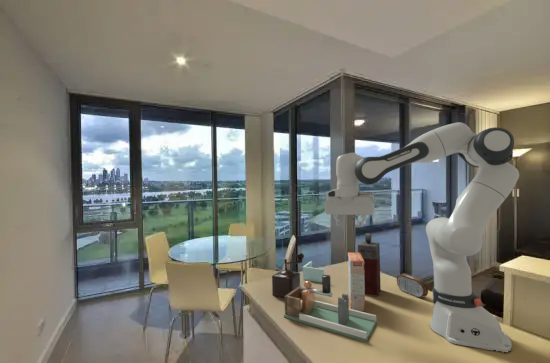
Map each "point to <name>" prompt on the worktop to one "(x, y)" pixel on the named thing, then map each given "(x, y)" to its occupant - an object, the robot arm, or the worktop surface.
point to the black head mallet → (309, 293)
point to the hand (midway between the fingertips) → (349, 225)
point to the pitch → (339, 319)
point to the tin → (412, 285)
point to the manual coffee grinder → (286, 279)
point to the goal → (293, 302)
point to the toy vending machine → (371, 265)
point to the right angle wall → (312, 273)
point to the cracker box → (356, 281)
